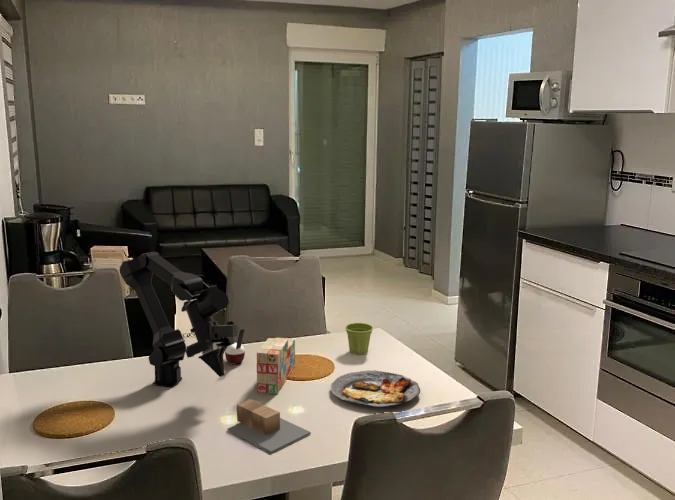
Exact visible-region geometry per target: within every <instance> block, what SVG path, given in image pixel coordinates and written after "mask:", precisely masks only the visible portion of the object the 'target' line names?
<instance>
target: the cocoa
mask: <svg viewBox="0 0 675 500" xmlns="http://www.w3.org/2000/svg"><path fill="white" fill-rule="evenodd" d="M244 334H245V328H242V329H239V332H238V336H237V337H238V338H237V342H235V344H232V345H230V346H228V347H227V349H226V350H225V352H224V356H225V359H226V361H227V363H229V364H231V365H237V364H241V363H242V362H243V361H244V359H245V355H246V350H245V347H244V345H243V339H244Z"/></svg>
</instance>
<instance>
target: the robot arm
mask: <svg viewBox="0 0 675 500" xmlns="http://www.w3.org/2000/svg"><path fill="white" fill-rule="evenodd" d="M119 274H120V276H121V277H122V279H123V281H124V283H125V284H126V285H127V286H128V287H130V288H131V289H132V290H134V292H135V294H136V296H137V298H138V301H139V303H140V305H141V308H142V309H143V312H144V314H145V317H146V319H147V321H148V324H149V326H150V329H151V330H152V333H153V340H152V347H153V351H152V352H151V353H150V354H149V356H148V362H149V365H151V366H153V367H154V381H153V382H152V385H153V386H158V387H159V386H161V387H166V388H167V387H168V388H174V387H175V386H176V385H177V384H178V383H179V382H181V381H182V380H183V377H182V368H181V366H180V362H181V361H183V360H184V359H185V355H186V357H187V359H189V358H192V357H195V355H198V354H200V353H201V354H202V355H199V356H198V359H200V360H201V361H203V362H204V363H205V364H206V365H207V366H208V367H209V368H210V369H211V370H212V371H213V372H214V373H215V374H216V375H217V377H220V378H221V377H223V376H225V366H224V355H225V350H226V349H227V347H228V346H230V345H232V344H235V343H236V342H235V339H234V338H235V337H238V336H239V332H238V331H240V330H241V328H240V327H239V324H237V322H236V321H235V320H228V321H227V323H226V324H219V322H218V320H214V319H213V317H212V316H214V315H216V314H218V313H220V312H221V311H223V310H225V309H227V307H228V305H229V296H228V295H227V294H226V292H225V291H223V290H221V289H219V288H218V285H217V284H216V285H212V286H209V285H208V284H207V283H205V281H204V280H203V279H202V278H201V277H200V276H199V275H197V274H193V273H192V272H184V271H182V270H181V269H179V268H178V267H176V266H175V265H173V264H172V263H171V262H170V261H168V260H166V259H165V258H164V257H162V256H161V255H160V253H159V252H156V251H150V252H145V253H144V252H143V253H142V254H139V255H138V256H137V257H135V258H132V259H129V260H124V261H122V263H121V265H120V266H119ZM153 275H156V276H157V277H158V278H160V279H161V280H162V281H164V282H165V283H166V284H168V285H169V286H170V289H171V292H172V294H173V295H174V296H175V297H176V299H178V300H180V301H181V302H182V301H184V302H183V305H182V307H181V312H183V313H184V312H186V314H187V316H188V320H189V321H190V322H189V323H190V324H191V329H189V330H190V333H191V334H193V333H194V335H195V338H196V341H197V342H195V343H192V344H190V345H188V346H187V344H186V343H185V342H186V340H185V339H184V337H183V334H182V331H181V330H180V329H179V328H178V329H174V328H172V327H171V326H170V323H169V321H168V318H167V316H166V313H165V312H164V309H163V307H162V305H161V302H160V300H159V298H158V296H157V293H156V291H155V288H154V287H153V285H152V280H153Z"/></svg>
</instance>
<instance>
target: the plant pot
mask: <svg viewBox="0 0 675 500" xmlns="http://www.w3.org/2000/svg"><path fill="white" fill-rule="evenodd" d="M344 329H345V331H346V332H345V333H346V334H347V341H348V348H349V349H348V350H349V352H350V354H353V355H357V356H358V355H365V354H367V353H368V352H369V346H370V339H371V336H372V335H371V334H372V333H373V332H372V331H373V330H374V325H372V324H369V323H363V322H353V323H348V324H346V325H345V327H344Z"/></svg>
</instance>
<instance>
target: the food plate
mask: <svg viewBox="0 0 675 500" xmlns="http://www.w3.org/2000/svg"><path fill="white" fill-rule="evenodd" d="M351 387H352V388H351ZM330 391H331V392H332V394H333V395H334V396H336V397H337V398H338V399H340V400H341V401H347V402H351V403H356V404H358V405H365V406H371V407H377V408H390V407H394V406H395V407H396V406H400V405H405V404H406V403H407V404H408V403H410V402H412V401H413V400H414V399H415V398H416V397H418V396H419V395H420V394H421V387H420V386H419V383H418V382H417V381H415V380H412V378H410V377H407V376H404V375H403V374H398V373H394V372H386V371H381V370H361V371H360V370H359V371H355V372H348V373H345V374H343V375H339V376H338V377H337V378H336V379H335V380H334V381H332V382H331V384H330Z"/></svg>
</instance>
